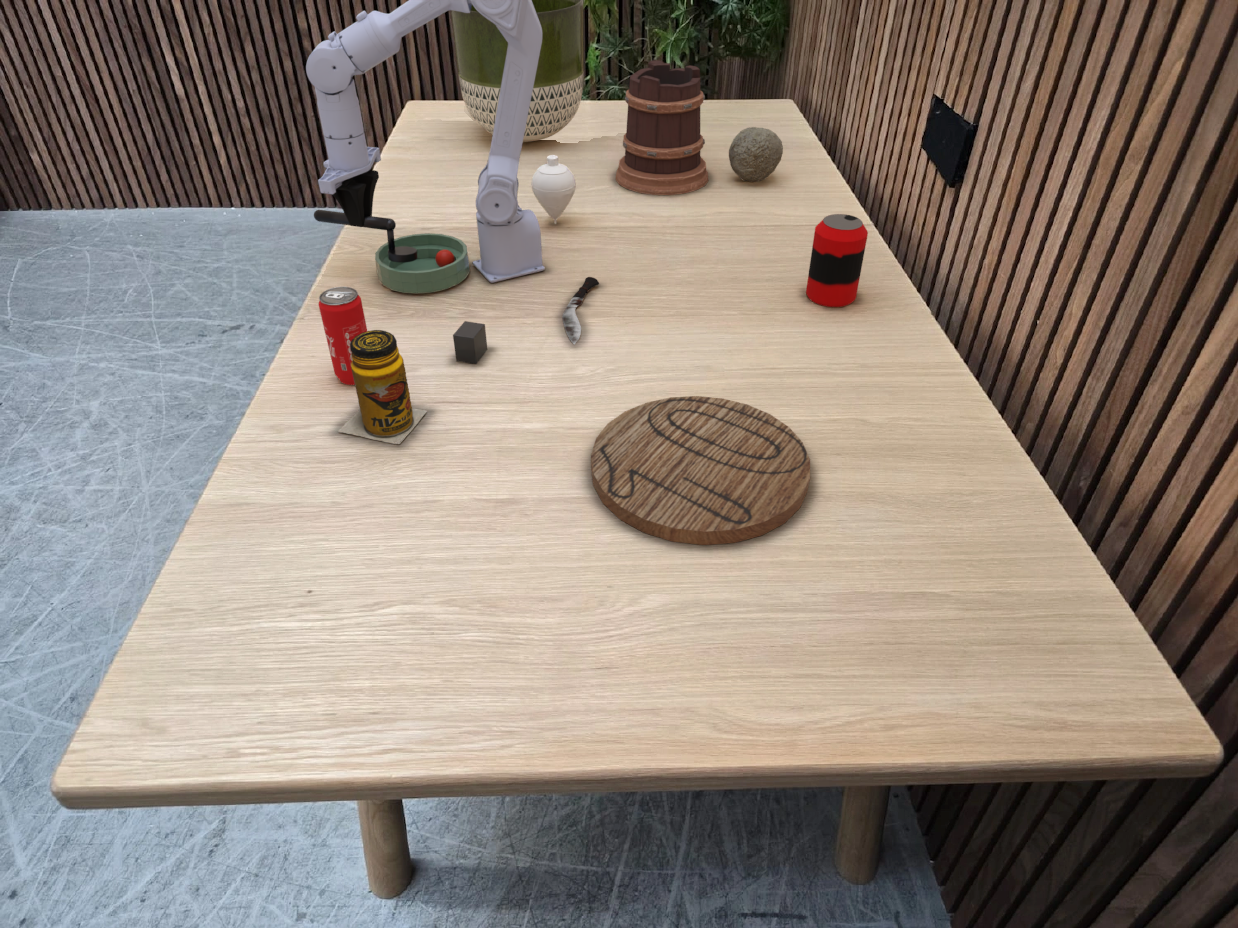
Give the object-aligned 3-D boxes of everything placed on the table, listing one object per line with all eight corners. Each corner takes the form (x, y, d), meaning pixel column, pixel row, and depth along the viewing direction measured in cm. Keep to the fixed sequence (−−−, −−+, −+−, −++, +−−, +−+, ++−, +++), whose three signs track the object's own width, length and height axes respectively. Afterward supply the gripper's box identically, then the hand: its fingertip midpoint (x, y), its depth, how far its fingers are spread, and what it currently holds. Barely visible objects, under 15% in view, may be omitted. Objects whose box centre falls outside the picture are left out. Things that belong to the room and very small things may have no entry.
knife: (593, 339, 124) (557, 341, 124) (593, 348, 125) (558, 349, 125) (599, 276, 138) (567, 277, 139) (599, 284, 139) (568, 285, 139)
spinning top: (526, 229, 156) (521, 160, 148) (545, 213, 161) (541, 146, 154) (566, 235, 153) (563, 167, 146) (583, 219, 159) (582, 152, 152)
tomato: (439, 263, 144) (456, 258, 144) (439, 274, 142) (457, 269, 142) (432, 248, 142) (450, 243, 142) (432, 259, 140) (451, 254, 140)
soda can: (865, 295, 136) (879, 221, 129) (838, 313, 132) (851, 237, 124) (823, 280, 140) (834, 207, 133) (795, 297, 136) (806, 222, 128)
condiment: (399, 445, 106) (383, 359, 99) (337, 432, 108) (317, 347, 101) (428, 412, 112) (414, 328, 104) (368, 400, 114) (350, 317, 106)
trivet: (750, 577, 89) (752, 563, 88) (548, 492, 100) (547, 479, 98) (841, 449, 106) (843, 436, 105) (659, 387, 116) (659, 375, 115)
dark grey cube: (487, 349, 124) (485, 323, 121) (476, 364, 121) (473, 338, 118) (467, 346, 124) (464, 320, 122) (456, 361, 121) (452, 335, 119)
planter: (465, 118, 204) (452, -13, 187) (581, 115, 206) (578, -15, 189) (462, 159, 183) (446, 16, 166) (590, 154, 185) (588, 12, 169)
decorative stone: (729, 189, 170) (734, 136, 164) (724, 173, 177) (728, 121, 171) (783, 188, 171) (789, 136, 164) (775, 172, 177) (781, 121, 171)
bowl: (451, 249, 149) (448, 226, 147) (483, 283, 139) (480, 259, 137) (368, 267, 144) (363, 244, 141) (395, 304, 134) (391, 280, 132)
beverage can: (366, 389, 116) (348, 307, 108) (329, 384, 117) (309, 303, 109) (382, 368, 120) (366, 287, 112) (346, 364, 121) (328, 284, 113)
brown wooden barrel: (696, 152, 186) (701, 50, 174) (717, 193, 169) (725, 82, 156) (608, 155, 185) (607, 52, 172) (620, 197, 167) (620, 86, 155)
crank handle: (422, 256, 139) (419, 218, 136) (409, 264, 135) (406, 225, 132) (326, 243, 143) (321, 206, 140) (310, 250, 139) (305, 212, 136)
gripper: (344, 115, 135) (360, 202, 143) (291, 147, 124) (312, 238, 132) (386, 119, 133) (400, 207, 142) (337, 151, 122) (355, 244, 131)
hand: (361, 222), depth 137 cm, fingers closed on crank handle, 2 cm apart
